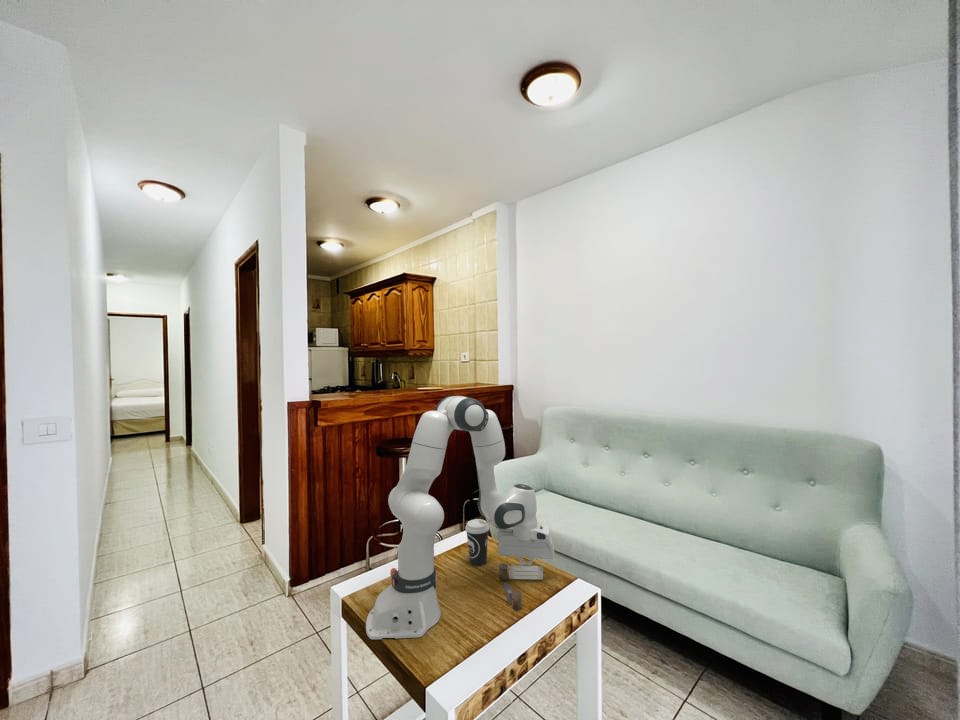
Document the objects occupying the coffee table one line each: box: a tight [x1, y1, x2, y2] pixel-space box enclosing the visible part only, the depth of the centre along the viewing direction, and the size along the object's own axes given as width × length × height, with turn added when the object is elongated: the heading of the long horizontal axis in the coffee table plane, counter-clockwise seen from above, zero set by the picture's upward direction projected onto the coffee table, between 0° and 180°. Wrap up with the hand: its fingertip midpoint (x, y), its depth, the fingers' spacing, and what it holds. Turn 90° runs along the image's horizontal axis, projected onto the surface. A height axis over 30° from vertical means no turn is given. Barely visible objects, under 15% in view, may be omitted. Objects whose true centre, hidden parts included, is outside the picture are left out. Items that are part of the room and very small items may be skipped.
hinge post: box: [498, 562, 509, 583], centre depth 136 cm, size 3×3×5 cm
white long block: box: [508, 564, 544, 580], centre depth 135 cm, size 12×2×4 cm, turn 85°
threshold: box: [502, 583, 514, 601], centre depth 128 cm, size 2×9×1 cm, turn 12°
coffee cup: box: [464, 518, 490, 567], centre depth 149 cm, size 10×10×15 cm
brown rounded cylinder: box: [506, 589, 523, 611], centre depth 121 cm, size 4×5×5 cm, turn 13°
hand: (526, 568), depth 137 cm, fingers closed
